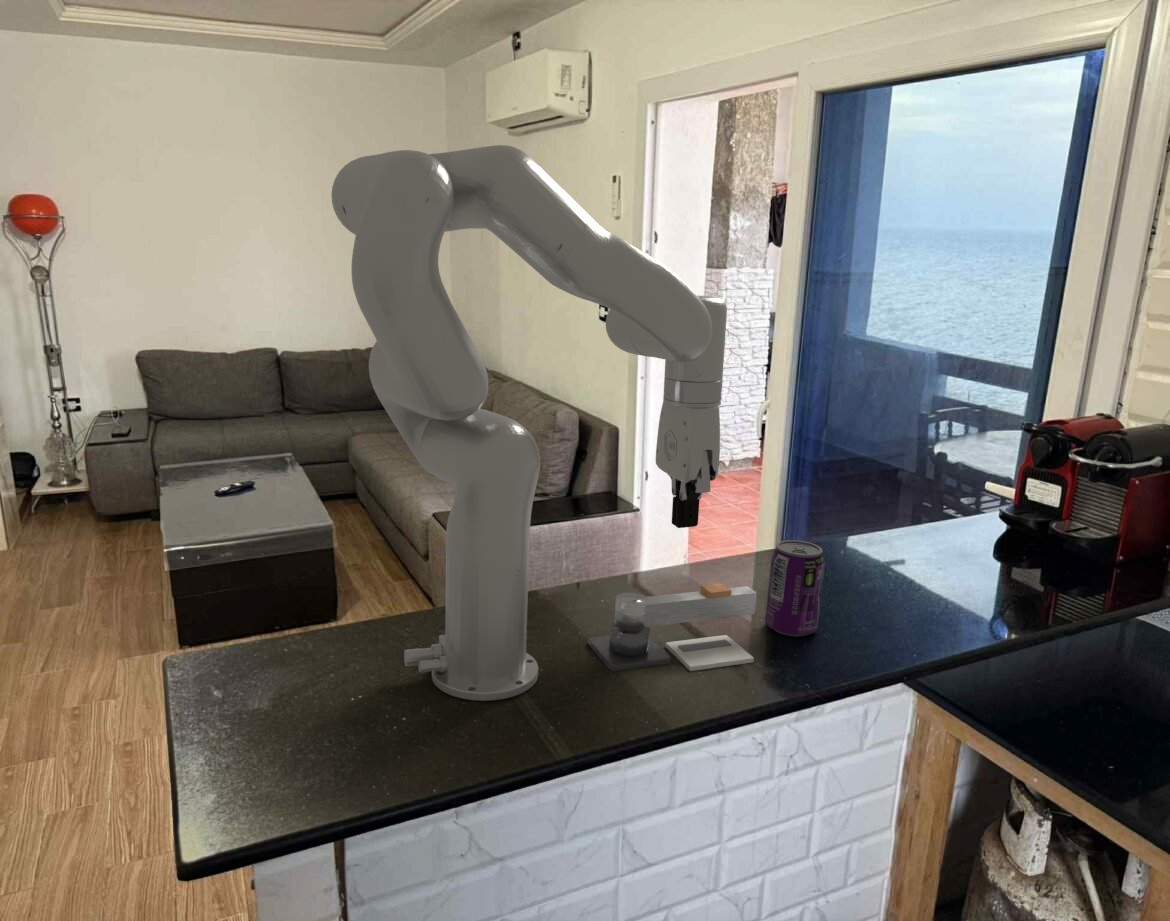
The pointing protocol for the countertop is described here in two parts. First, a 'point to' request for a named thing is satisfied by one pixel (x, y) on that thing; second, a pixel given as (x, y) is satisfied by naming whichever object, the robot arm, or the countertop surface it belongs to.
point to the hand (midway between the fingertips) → (684, 525)
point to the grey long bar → (683, 606)
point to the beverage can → (795, 588)
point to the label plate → (708, 652)
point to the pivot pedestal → (628, 649)
